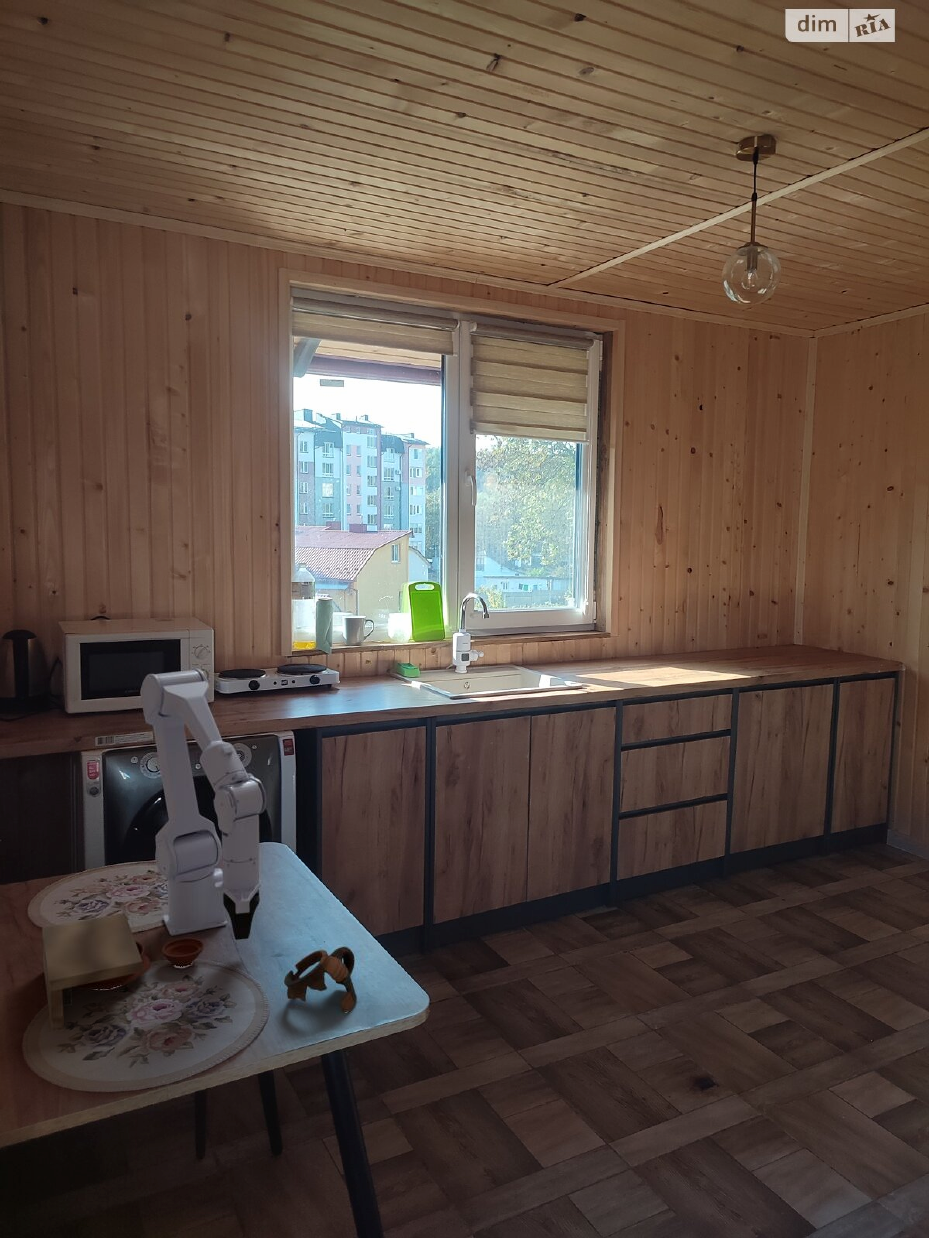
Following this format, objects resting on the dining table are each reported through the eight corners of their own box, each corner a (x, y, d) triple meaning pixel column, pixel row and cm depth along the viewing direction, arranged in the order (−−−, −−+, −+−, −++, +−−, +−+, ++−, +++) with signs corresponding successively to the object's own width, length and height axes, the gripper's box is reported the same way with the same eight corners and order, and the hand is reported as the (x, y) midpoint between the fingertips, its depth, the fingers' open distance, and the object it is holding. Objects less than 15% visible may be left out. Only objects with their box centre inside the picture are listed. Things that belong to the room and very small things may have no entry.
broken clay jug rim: (342, 1028, 124) (311, 980, 123) (295, 1039, 128) (265, 993, 127) (381, 969, 134) (353, 925, 133) (337, 981, 139) (309, 938, 138)
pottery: (64, 973, 137) (63, 946, 137) (196, 945, 147) (195, 920, 146) (70, 1009, 127) (69, 980, 127) (212, 977, 137) (212, 949, 136)
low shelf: (126, 954, 143) (124, 912, 142) (143, 1007, 127) (142, 961, 127) (43, 971, 137) (42, 928, 137) (51, 1029, 122) (49, 980, 121)
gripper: (214, 841, 147) (215, 920, 149) (214, 875, 133) (216, 961, 135) (258, 838, 149) (259, 915, 151) (262, 871, 135) (263, 956, 137)
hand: (241, 937), depth 143 cm, fingers closed
